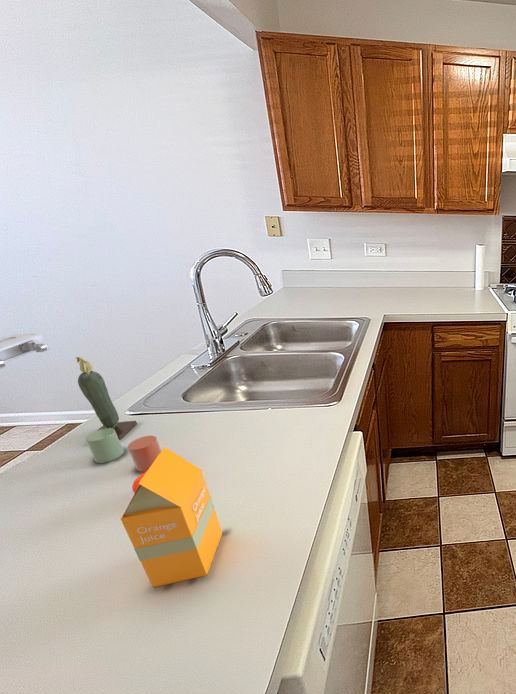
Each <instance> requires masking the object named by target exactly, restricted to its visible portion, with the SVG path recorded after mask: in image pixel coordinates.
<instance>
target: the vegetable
mask: <svg viewBox="0 0 516 694" xmlns="http://www.w3.org/2000/svg"><path fill="white" fill-rule="evenodd" d="M75 359H76V363H77V364H78V363H79V365H78V366H79V370H80V372H82V373H80V374H79V376H78V378H77V385H78V387H79V389H80V391H81V393H82V394H83V396H84V397H85V399H86V400H87V401H88V402H89V403H90V405H91V408H92V409H93V410H94V412H95V415H96V417H97V418H98V419H99V421H100V423H101V425H102V426H103V425H104V426H106V427H107V428H113V427H114V426H116V425H117V422H120V421H119V420H120V417H119V413H118V411H117V409H116V407H115V405H114V404H113V401H112V399H111V396H110V394H109V390H108V388H107V385H106V382H105V379H104V378H103V376H102V375H101V374H100V373H99V372H97V371H94V370H93V365H92V363H91V362H89V361H88V360H86V359H84V358H83V357H81V356H75Z"/></svg>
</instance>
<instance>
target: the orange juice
mask: <svg viewBox="0 0 516 694" xmlns="http://www.w3.org/2000/svg"><path fill="white" fill-rule="evenodd" d="M139 484H140V485H139V487H138V488H137V490H136V492H135V493H133V496H132V498H131V500H130V502H129V503H128V505H127V508H126V509H125V511H124V513H123V514H122V516H121V517H120V521H121V523H122V525H123V527H124V529H125V531H126V534H127V536H128V538H129V539H130V542H131V545H132V547H133V551H134V552H135V554H136V556H137V558H138V560H139V562H140V564H142V567H143V569H144V572H145V574H146V576H147V578H148V580H149V582H150V584H151V587H152V588H156V587H162V586H165V585H171V584H174V583H178V582H183V581H187V580H191V579H197V578H201V577H206V576H207V575H208V573H209V570H210V569H211V566H212V562H213V561H214V557H215V554H216V552H217V548H218V547H219V544H220V541H221V538H222V537H223V530H222V526H221V524H220V521H219V518H218V515H217V512H216V510H215V505H214V503H213V499H212V496H211V495H210V492H209V489H208V486H207V483H206V479H205V477H204V474H203V469H201V468H199V467H198V466H196V465H195V464H193V463H191V462H190V461H188V460H187V459H185V458H183V457H182V456H180V455H179V454H177V453H176V452H173V451H172V450H171V449H168V447H166V446H164V447H162V448H161V452H160V454H159V455H158V457H157V458H156V459H155V461H154V462H153V464H152V465H151V467H150V468H149V469H148V471H147V472H146V474H145V475H144V477H143V478H142V479H141V481H140V482H139Z"/></svg>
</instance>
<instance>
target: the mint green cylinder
mask: <svg viewBox="0 0 516 694" xmlns="http://www.w3.org/2000/svg"><path fill="white" fill-rule="evenodd" d="M97 430H98V429H97ZM97 430H96V431H93V432H91V433H89V434H88V435H87V436H86V437H85V442H86V445H87V447H88V449H89V451H90V453H91V455H92V457H93V459H94V462H95V463H97V464H104V463H109V462H113V461H114V460H116V459H119V458H120V457H121V456H122V455H123V454H124V453H125V450H124V448H123V446H122V444H121V441H120V440H119V439H118V436H117V434H116V432H115V430H114V429H113V428H106V429H101V430H98V431H97Z"/></svg>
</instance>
